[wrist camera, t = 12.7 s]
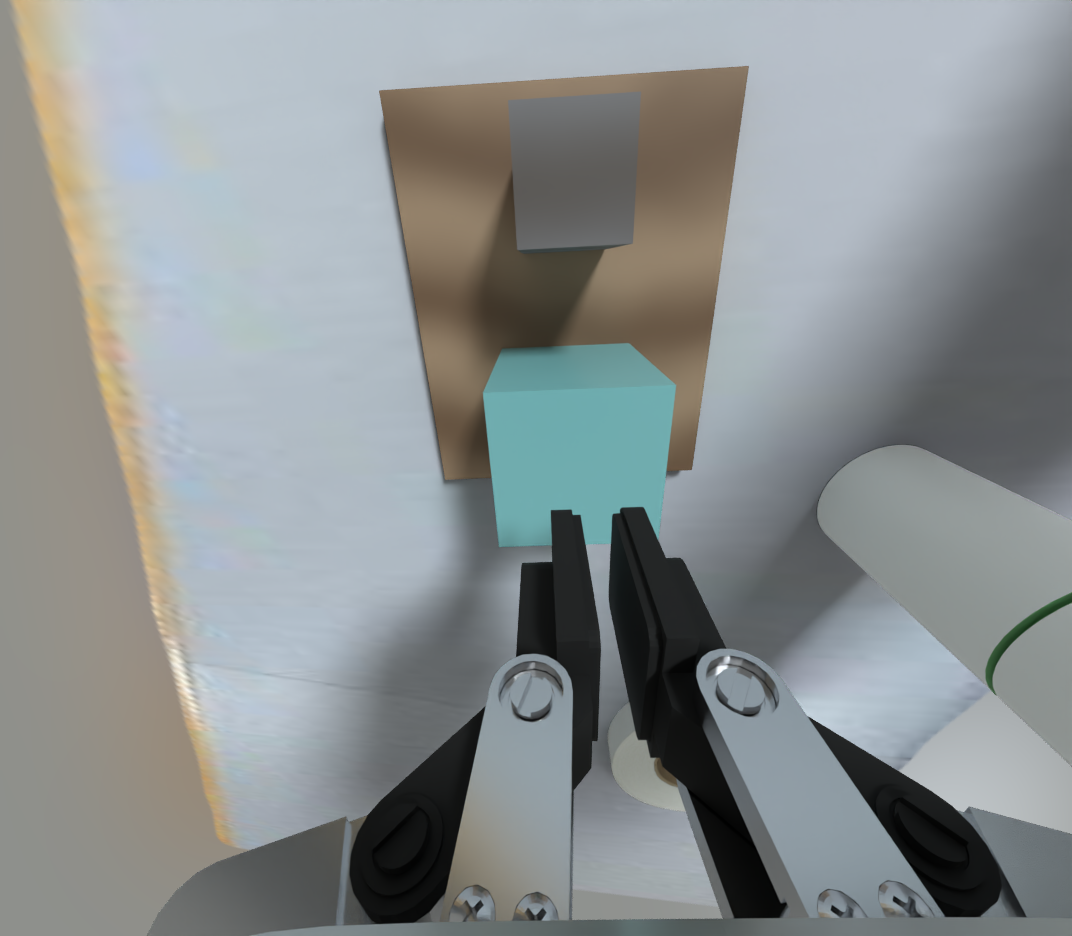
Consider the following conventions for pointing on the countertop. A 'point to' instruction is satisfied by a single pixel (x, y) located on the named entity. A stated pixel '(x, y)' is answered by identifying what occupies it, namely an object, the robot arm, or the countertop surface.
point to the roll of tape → (640, 766)
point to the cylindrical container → (967, 572)
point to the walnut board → (569, 286)
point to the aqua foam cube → (576, 438)
